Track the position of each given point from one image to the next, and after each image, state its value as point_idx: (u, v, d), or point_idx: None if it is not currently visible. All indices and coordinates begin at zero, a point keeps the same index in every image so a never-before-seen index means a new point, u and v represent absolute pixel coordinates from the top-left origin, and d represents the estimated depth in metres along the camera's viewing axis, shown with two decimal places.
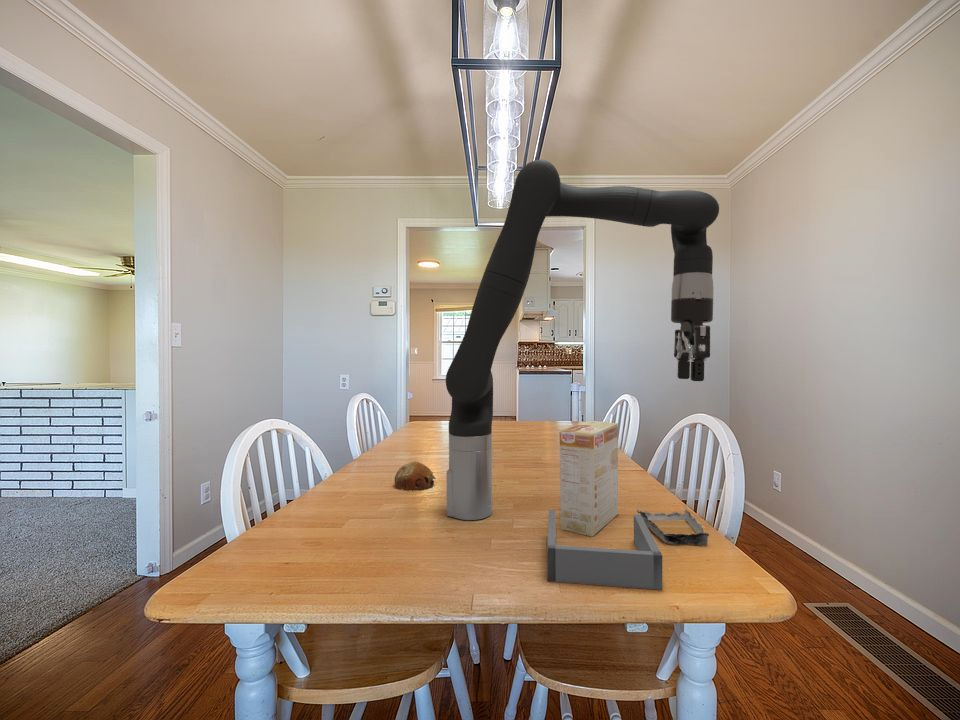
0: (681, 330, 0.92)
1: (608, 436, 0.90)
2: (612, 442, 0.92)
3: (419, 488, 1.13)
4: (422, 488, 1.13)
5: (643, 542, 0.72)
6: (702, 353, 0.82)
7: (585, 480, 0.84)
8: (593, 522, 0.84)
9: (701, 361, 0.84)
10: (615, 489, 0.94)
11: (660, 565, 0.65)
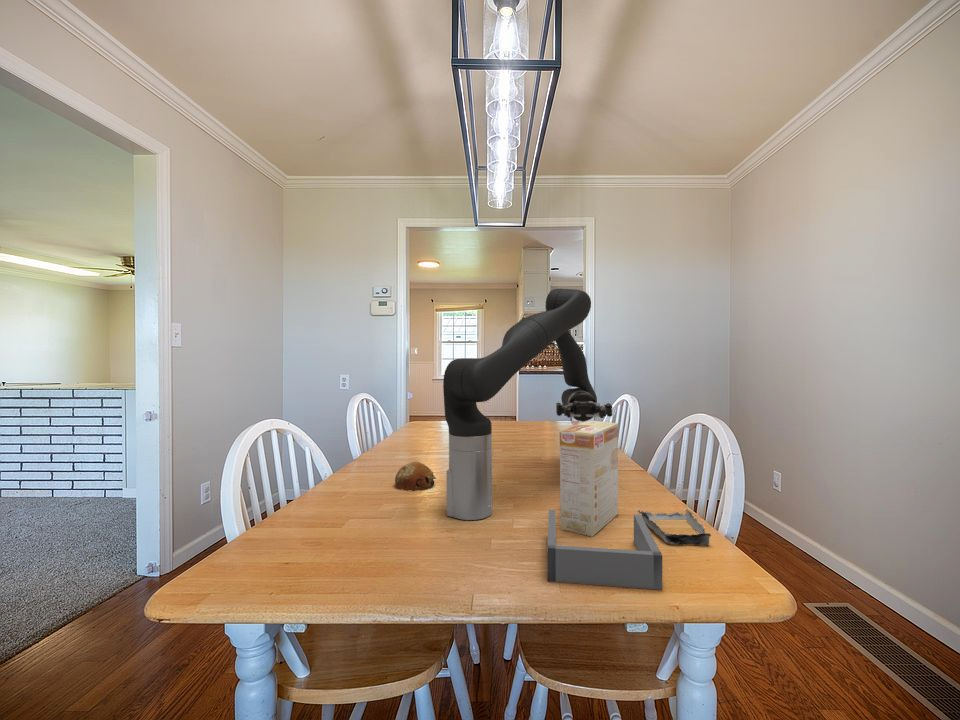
0: None
1: (608, 436, 0.90)
2: (612, 442, 0.92)
3: (420, 488, 1.13)
4: (423, 488, 1.13)
5: (643, 542, 0.72)
6: None
7: (585, 480, 0.84)
8: (593, 522, 0.84)
9: None
10: (615, 489, 0.94)
11: (660, 565, 0.65)
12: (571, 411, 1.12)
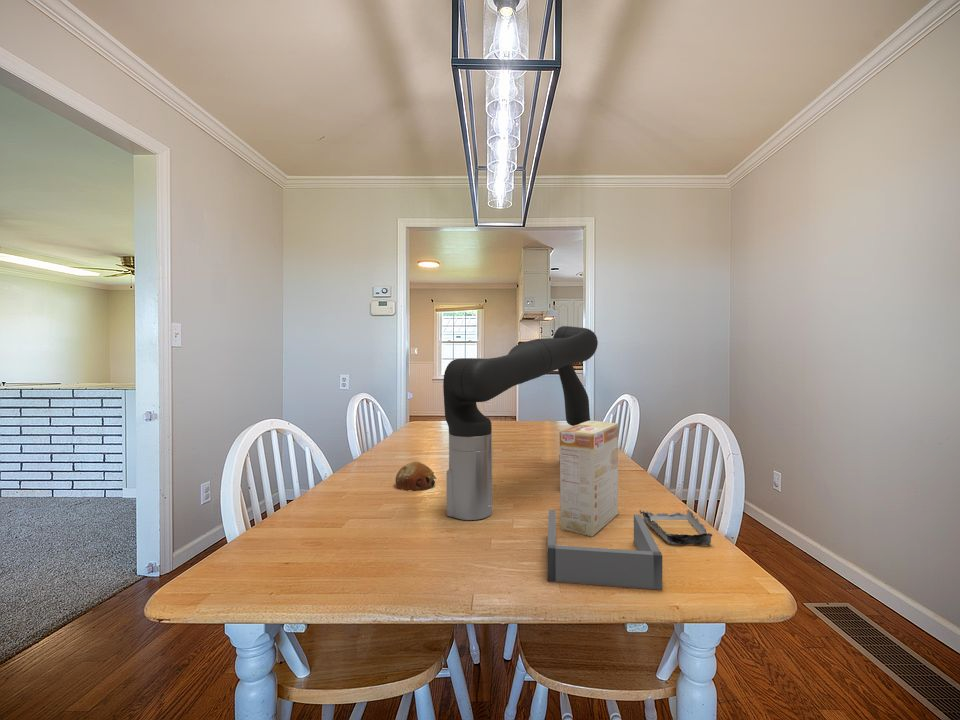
0: None
1: (608, 436, 0.90)
2: (612, 442, 0.92)
3: (420, 488, 1.13)
4: (423, 488, 1.13)
5: (643, 542, 0.72)
6: None
7: (585, 480, 0.84)
8: (593, 522, 0.84)
9: None
10: (615, 489, 0.94)
11: (660, 565, 0.65)
12: None
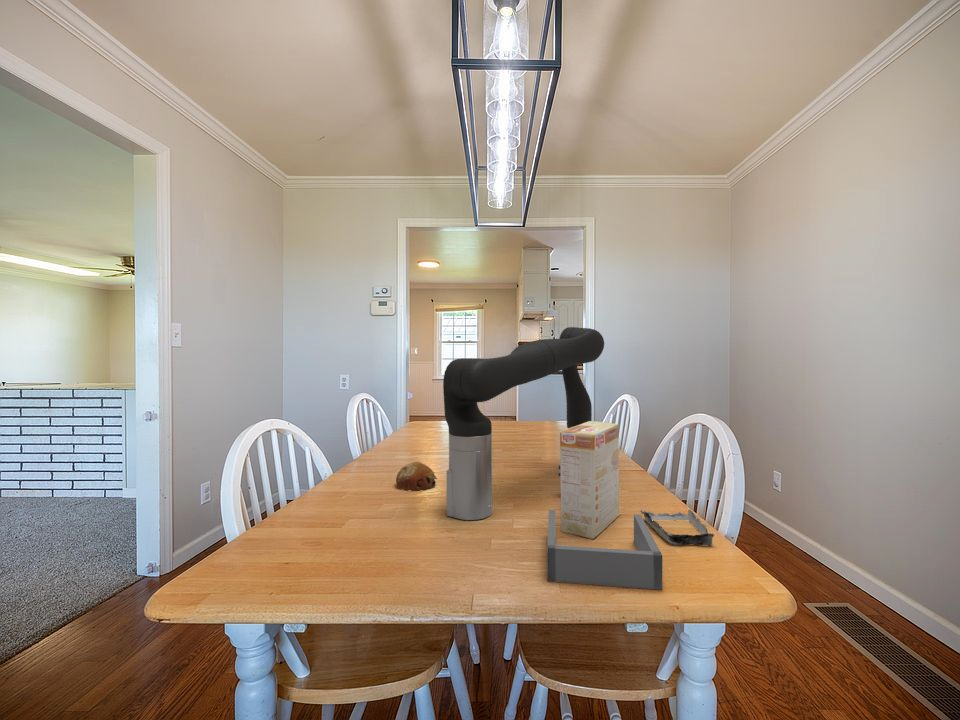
0: None
1: (609, 437, 0.89)
2: (613, 443, 0.91)
3: (421, 488, 1.13)
4: (424, 488, 1.13)
5: (643, 542, 0.72)
6: None
7: (586, 482, 0.83)
8: (594, 524, 0.83)
9: None
10: (616, 490, 0.93)
11: (660, 565, 0.65)
12: None
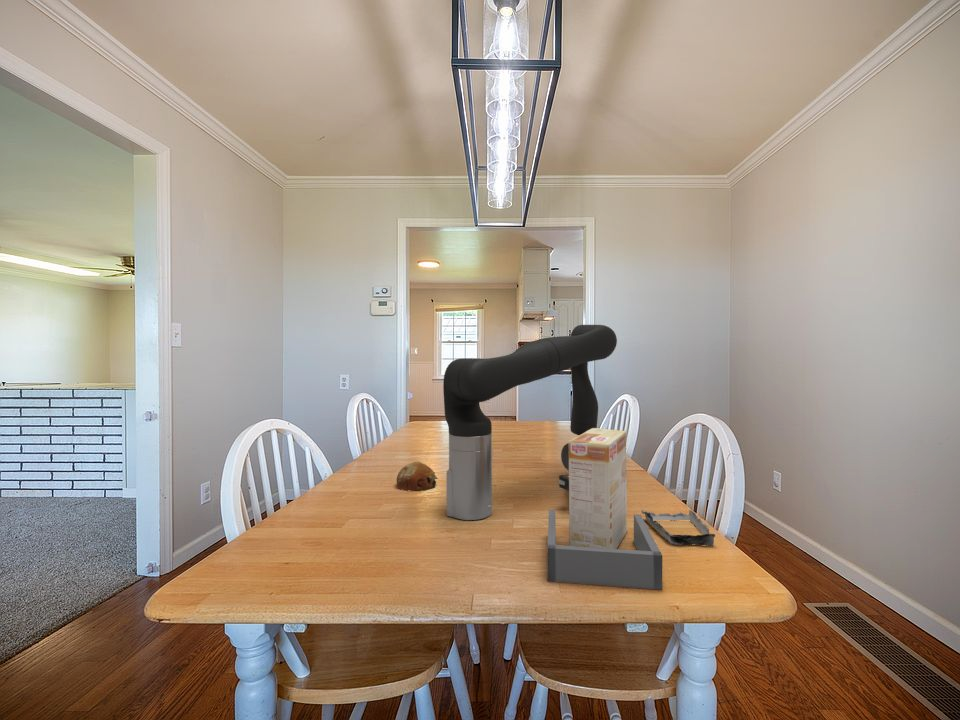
0: None
1: (620, 446, 0.80)
2: (622, 452, 0.82)
3: (421, 488, 1.12)
4: (424, 488, 1.13)
5: (643, 542, 0.72)
6: None
7: (600, 498, 0.73)
8: (609, 545, 0.73)
9: None
10: (624, 504, 0.84)
11: (660, 565, 0.65)
12: None
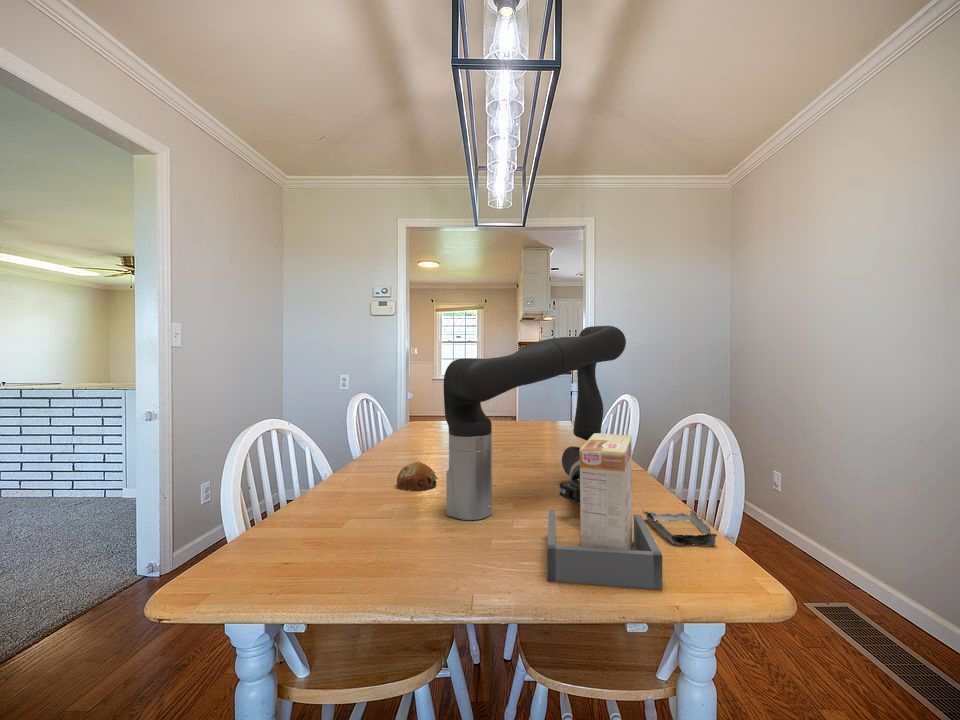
0: (574, 481, 0.95)
1: (629, 453, 0.75)
2: (630, 459, 0.77)
3: (422, 488, 1.12)
4: (425, 488, 1.13)
5: (643, 542, 0.72)
6: None
7: (615, 511, 0.68)
8: None
9: None
10: (631, 514, 0.79)
11: (660, 565, 0.65)
12: None
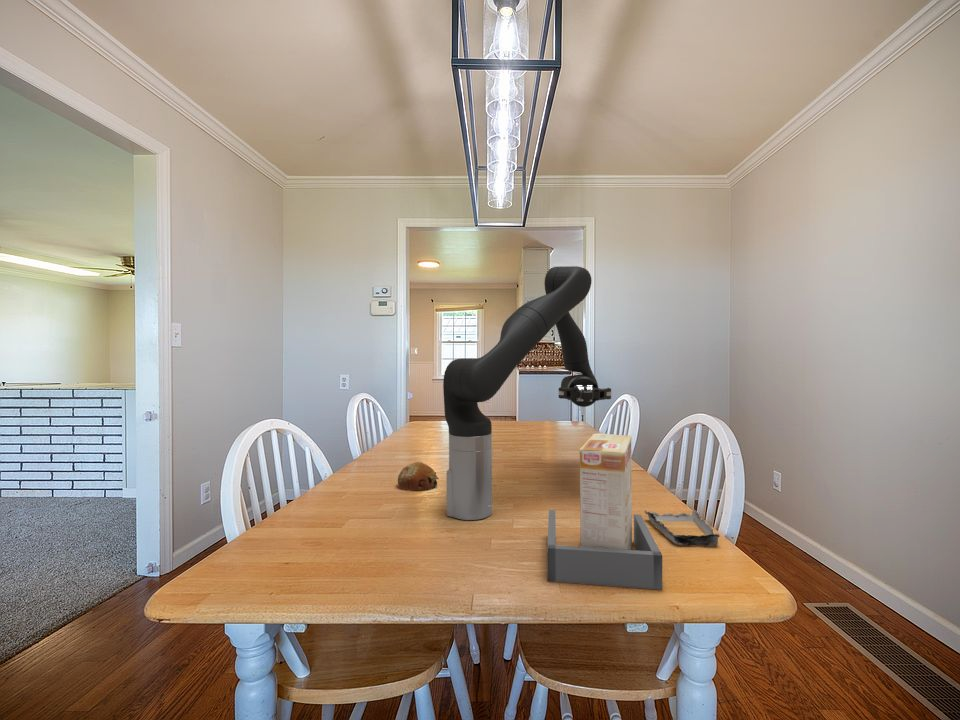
0: None
1: (629, 453, 0.75)
2: (630, 459, 0.77)
3: (422, 488, 1.12)
4: (425, 488, 1.13)
5: (643, 542, 0.72)
6: (599, 394, 1.03)
7: (615, 511, 0.68)
8: None
9: None
10: None
11: (660, 565, 0.65)
12: None
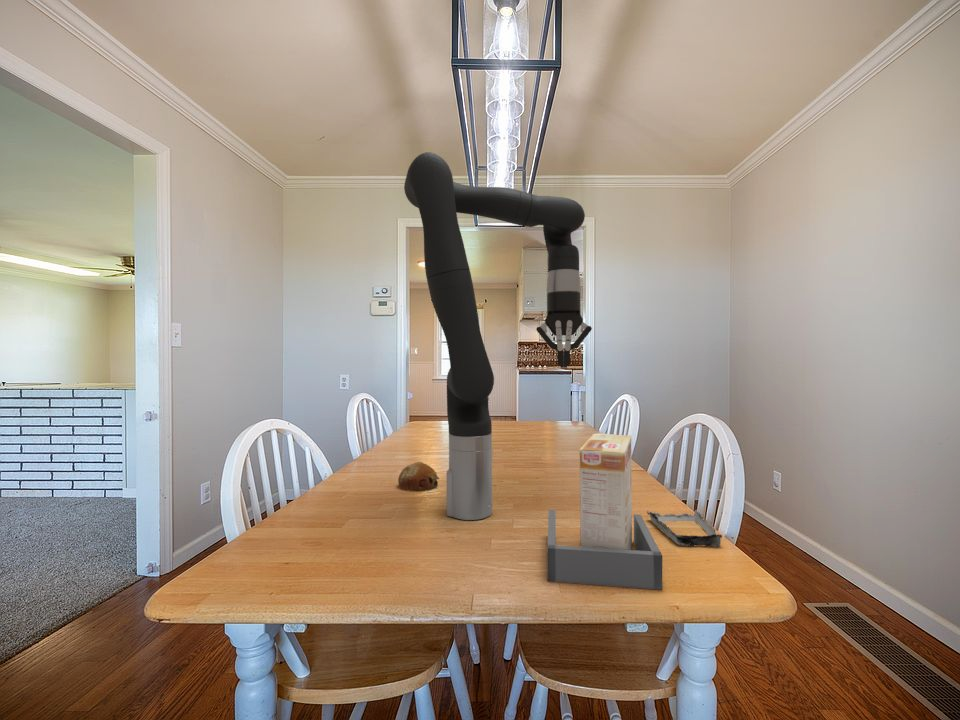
0: (550, 317, 1.02)
1: (629, 453, 0.75)
2: None
3: (423, 489, 1.12)
4: (426, 489, 1.13)
5: (643, 542, 0.72)
6: None
7: (615, 511, 0.68)
8: None
9: None
10: None
11: (660, 565, 0.65)
12: None
